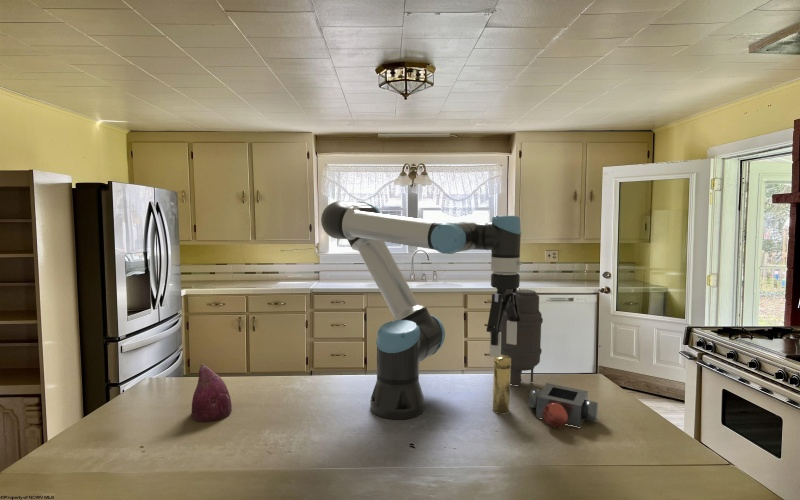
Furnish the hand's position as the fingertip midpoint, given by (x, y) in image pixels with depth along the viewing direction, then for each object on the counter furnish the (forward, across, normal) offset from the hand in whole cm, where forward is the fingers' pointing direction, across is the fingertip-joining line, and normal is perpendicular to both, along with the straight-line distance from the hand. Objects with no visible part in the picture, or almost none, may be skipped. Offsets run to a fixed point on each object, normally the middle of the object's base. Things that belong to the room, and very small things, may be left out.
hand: (503, 350), depth 121 cm
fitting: (+17, 0, 0) cm, 17 cm away
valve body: (+17, +4, -15) cm, 23 cm away
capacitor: (+17, +23, +2) cm, 29 cm away
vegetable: (+17, -44, +65) cm, 81 cm away
